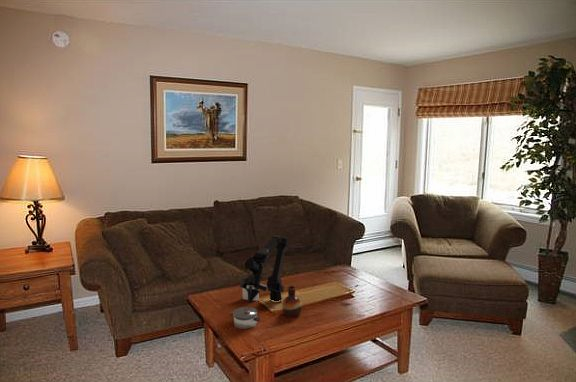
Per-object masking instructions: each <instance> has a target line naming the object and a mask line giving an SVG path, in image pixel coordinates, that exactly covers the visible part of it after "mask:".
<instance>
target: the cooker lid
mask: <svg viewBox="0 0 576 382" xmlns="http://www.w3.org/2000/svg"><path fill="white" fill-rule="evenodd" d="M232 312H233V318H234V317H235V318H237V319H250V318H253V317H255V316H256V315H257V316H258V309H257V308H254V307H251V306H244V307H243V306H242V307H238V308H236V309H234V310H233V311H232Z"/></svg>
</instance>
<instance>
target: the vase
mask: <svg viewBox="0 0 576 382" xmlns="http://www.w3.org/2000/svg"><path fill="white" fill-rule="evenodd" d="M287 293H288V295H287V296H285V298H284V299H283V300H282V302H281V304H282V305H281V307H282V311H283V314H284V315H285V316H286V317H290V318H296V317H298V316H300V315H301V313H302V310H303V302H302V300H301V299H300V297H298V296H296V286H293V285H291V286H288V287H287Z"/></svg>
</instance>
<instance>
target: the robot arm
mask: <svg viewBox="0 0 576 382" xmlns="http://www.w3.org/2000/svg"><path fill="white" fill-rule="evenodd" d="M290 245H291V240H290V238H288V237H282V236H279V235H272V236H271V239H270V240H269V241H268V242H267V243H266V245H265V246H264V247H263V248H262V249H259V250H257V251H256V252H255V253H254V255H253V256H252V257H251V256H250V257H249V259H247V260H246V261H245V262H244V269H246V270H248V271H250V272H251V274H249V275H246V276H245V277H240V280H239V281H240V286H239V287H240V288H241V289H242V288H244V289H246V290H247V292H248V300H247V303H248V304H249V303H252V302H253V301H254V300H253V299H254V298H255V296H256V295H257V294H258V293H259V294H260V290H261V291H262V292H267V291H268V292H269V300H270V299H271V300H274V301H279V300H281V299H282V300H283V296H282V293H284V291H285V286H284V285H283V284H282V278H281V273H282V269H283V263H284V259H285V253H286V252H287V251H288V250H289V248H290ZM274 249H276V254H275V258H274V264H273V270H272V273H271V275H269V276H268V277H267V282H266V285H265V284H262V283H261V280H263V279H264V278H263V277H262V276H263V271H264V269H266V266H265V264H267V262H268V260H269V259H270V255H271V253H272V252H273V251H274ZM271 300H270V301H271Z"/></svg>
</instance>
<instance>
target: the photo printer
mask: <svg viewBox="0 0 576 382" xmlns="http://www.w3.org/2000/svg"><path fill="white" fill-rule="evenodd" d="M241 289H242V299H243V300H247V301H248V292H247V290H246V289H244V288H241ZM259 294H260V292H259V293H258V294H257V295H256V296H255V298H254V299H253V300H252V301H255V302H256V301H257V302H258V301H259V300H258V299H260V298H259V297H260V295H259Z"/></svg>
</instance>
